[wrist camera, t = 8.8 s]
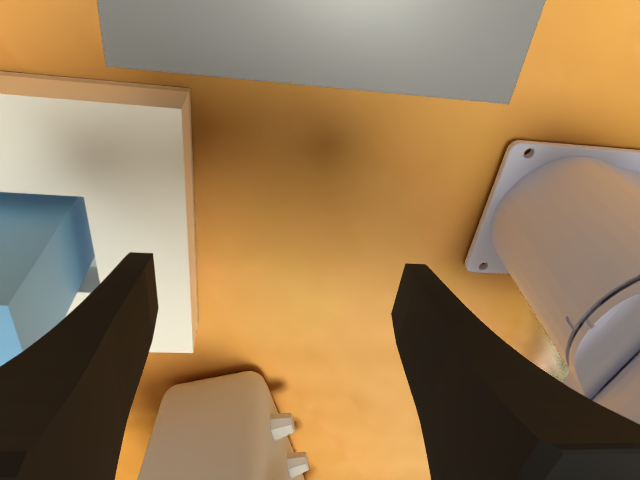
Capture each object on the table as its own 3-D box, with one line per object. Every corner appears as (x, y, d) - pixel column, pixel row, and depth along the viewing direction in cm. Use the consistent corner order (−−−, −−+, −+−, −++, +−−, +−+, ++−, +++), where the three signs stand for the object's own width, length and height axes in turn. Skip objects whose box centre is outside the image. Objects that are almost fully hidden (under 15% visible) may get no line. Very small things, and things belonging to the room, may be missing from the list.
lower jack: (190, 87, 21) (181, 108, 19) (198, 320, 29) (193, 352, 27) (-178, 55, 19) (-232, 74, 17) (-59, 313, 27) (-86, 348, 25)
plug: (84, 186, 22) (7, 305, 16) (97, 264, 25) (36, 392, 19) (-10, 180, 22) (-128, 300, 15) (14, 259, 24) (-79, 391, 18)
